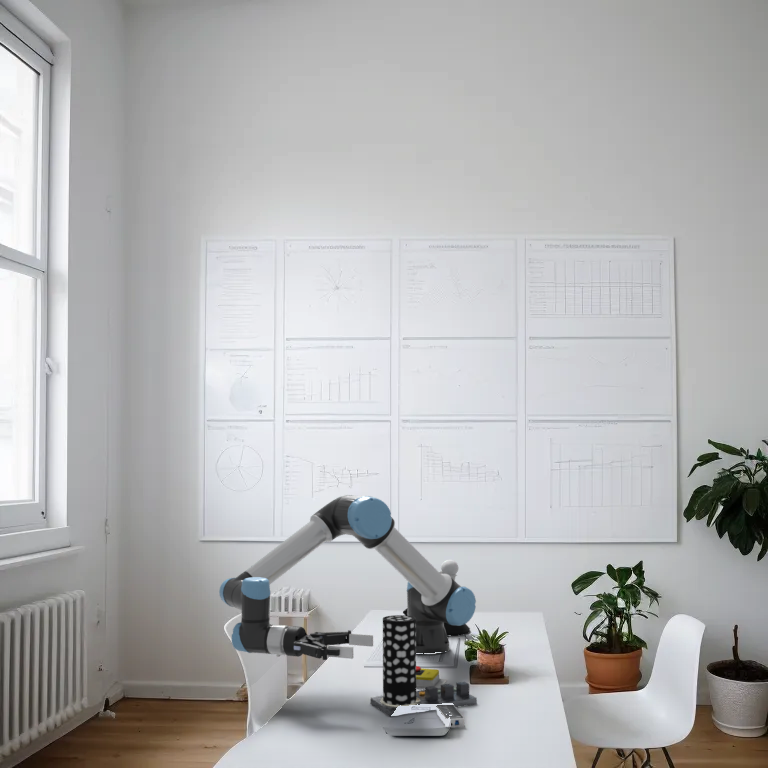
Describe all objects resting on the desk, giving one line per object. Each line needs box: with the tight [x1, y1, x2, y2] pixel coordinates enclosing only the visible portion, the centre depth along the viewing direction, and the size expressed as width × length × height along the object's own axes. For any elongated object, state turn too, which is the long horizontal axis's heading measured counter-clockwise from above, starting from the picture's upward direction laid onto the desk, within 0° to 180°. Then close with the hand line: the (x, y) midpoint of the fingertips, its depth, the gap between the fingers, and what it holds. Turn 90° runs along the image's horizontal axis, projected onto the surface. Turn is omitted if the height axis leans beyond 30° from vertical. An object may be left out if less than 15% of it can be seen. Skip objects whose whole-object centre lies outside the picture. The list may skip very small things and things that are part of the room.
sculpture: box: [402, 559, 471, 637], centre depth 297 cm, size 15×24×25 cm, turn 85°
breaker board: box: [370, 681, 478, 718], centre depth 212 cm, size 24×12×4 cm, turn 114°
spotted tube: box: [382, 614, 417, 705], centre depth 210 cm, size 8×8×20 cm
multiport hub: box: [436, 705, 465, 729], centre depth 199 cm, size 4×11×2 cm, turn 9°
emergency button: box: [416, 665, 448, 689], centre depth 232 cm, size 9×4×15 cm
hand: (363, 646), depth 213 cm, fingers open, 13 cm apart
